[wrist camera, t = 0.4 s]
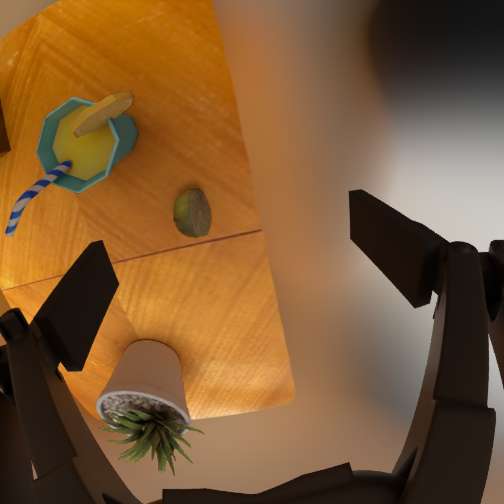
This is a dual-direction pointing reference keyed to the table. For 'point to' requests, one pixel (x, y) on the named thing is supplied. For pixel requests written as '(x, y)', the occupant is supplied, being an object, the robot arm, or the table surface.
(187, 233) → the lime
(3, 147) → the dark brown box
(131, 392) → the potted plant
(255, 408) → the table surface
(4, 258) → the table surface
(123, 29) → the table surface
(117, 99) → the cup
